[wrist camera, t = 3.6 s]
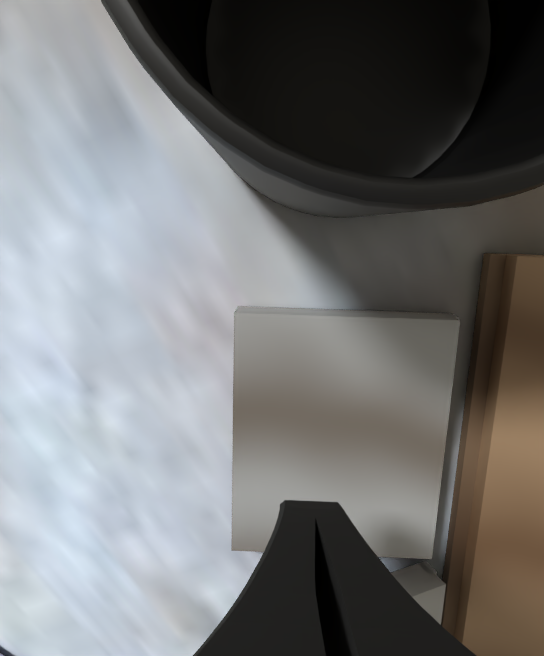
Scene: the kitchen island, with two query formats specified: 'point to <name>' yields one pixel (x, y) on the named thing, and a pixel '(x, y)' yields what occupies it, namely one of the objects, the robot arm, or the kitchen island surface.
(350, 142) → the mug
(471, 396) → the board
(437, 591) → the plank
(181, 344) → the kitchen island surface
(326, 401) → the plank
